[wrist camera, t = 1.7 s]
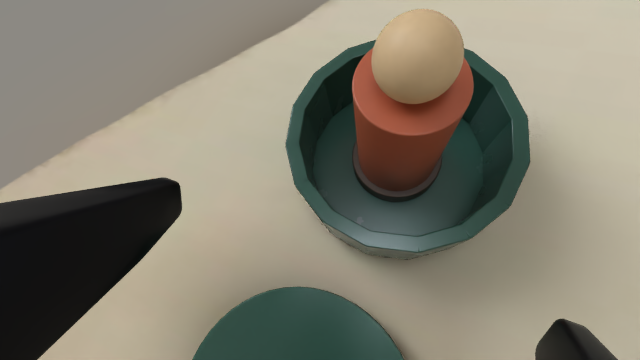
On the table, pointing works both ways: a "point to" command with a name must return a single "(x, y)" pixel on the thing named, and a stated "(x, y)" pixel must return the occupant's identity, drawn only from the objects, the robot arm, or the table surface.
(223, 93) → the table surface
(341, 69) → the pot
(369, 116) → the peg doll
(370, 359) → the pot lid
